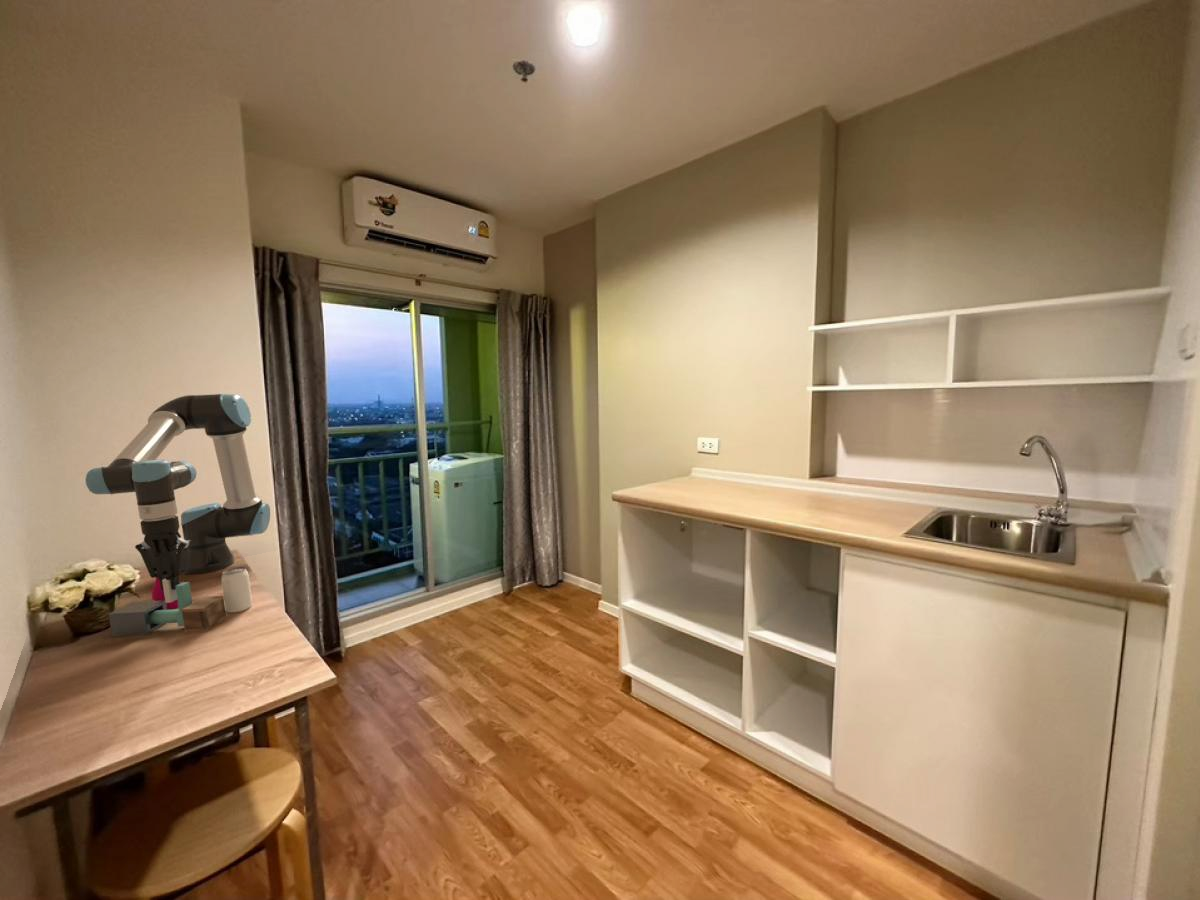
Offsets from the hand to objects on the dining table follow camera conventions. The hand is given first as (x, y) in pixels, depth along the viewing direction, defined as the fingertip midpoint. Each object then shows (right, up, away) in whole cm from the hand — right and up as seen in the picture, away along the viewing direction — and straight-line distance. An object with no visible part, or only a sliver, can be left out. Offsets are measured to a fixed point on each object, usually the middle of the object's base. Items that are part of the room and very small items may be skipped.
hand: (172, 600), depth 131 cm
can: (+10, -6, +12) cm, 16 cm away
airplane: (0, -7, +1) cm, 7 cm away
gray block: (-9, -8, +1) cm, 12 cm away
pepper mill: (-14, -7, +14) cm, 21 cm away
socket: (+8, -8, +2) cm, 11 cm away
